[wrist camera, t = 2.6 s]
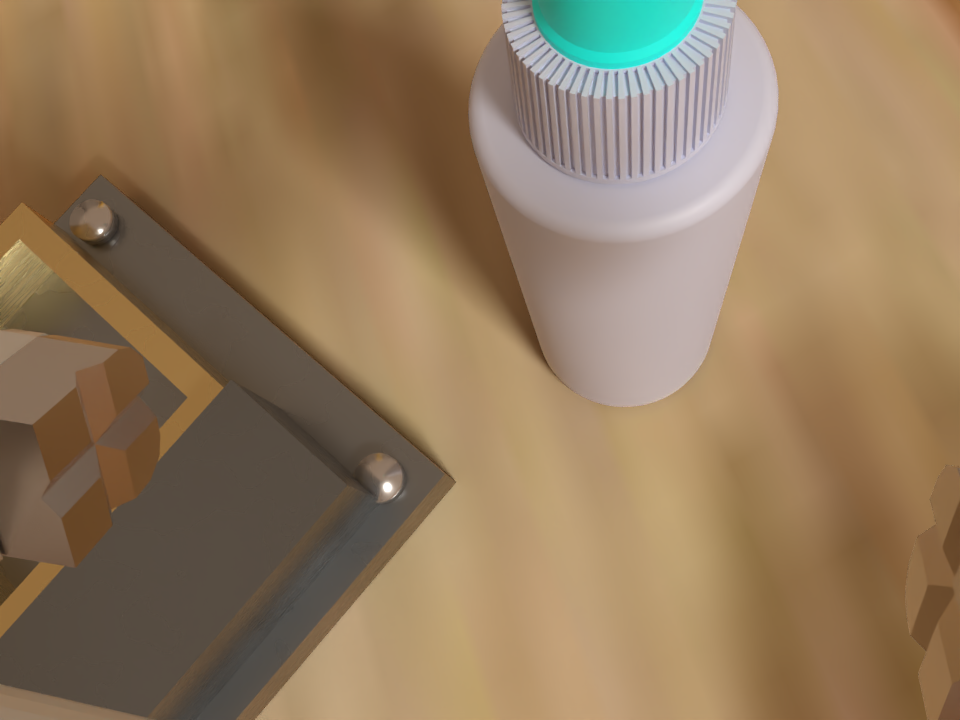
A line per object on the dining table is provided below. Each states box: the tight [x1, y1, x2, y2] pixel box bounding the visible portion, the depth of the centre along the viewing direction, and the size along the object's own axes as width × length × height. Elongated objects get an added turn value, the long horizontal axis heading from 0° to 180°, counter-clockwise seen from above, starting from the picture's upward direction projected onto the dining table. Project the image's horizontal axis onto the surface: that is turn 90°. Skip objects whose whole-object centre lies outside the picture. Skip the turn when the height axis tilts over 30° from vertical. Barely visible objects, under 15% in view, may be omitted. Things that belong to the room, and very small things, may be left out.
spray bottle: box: [468, 0, 778, 407], centre depth 22 cm, size 6×6×22 cm
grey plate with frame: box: [0, 175, 456, 720], centre depth 31 cm, size 16×18×6 cm
